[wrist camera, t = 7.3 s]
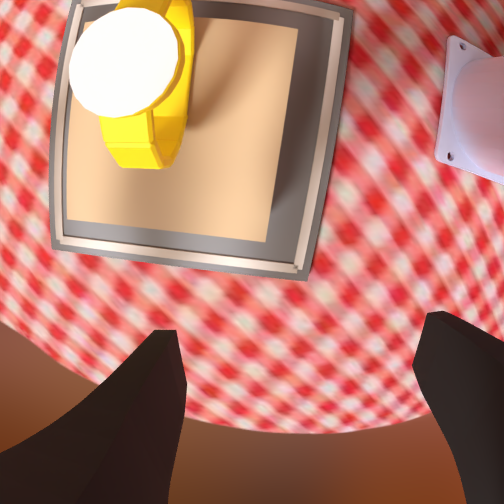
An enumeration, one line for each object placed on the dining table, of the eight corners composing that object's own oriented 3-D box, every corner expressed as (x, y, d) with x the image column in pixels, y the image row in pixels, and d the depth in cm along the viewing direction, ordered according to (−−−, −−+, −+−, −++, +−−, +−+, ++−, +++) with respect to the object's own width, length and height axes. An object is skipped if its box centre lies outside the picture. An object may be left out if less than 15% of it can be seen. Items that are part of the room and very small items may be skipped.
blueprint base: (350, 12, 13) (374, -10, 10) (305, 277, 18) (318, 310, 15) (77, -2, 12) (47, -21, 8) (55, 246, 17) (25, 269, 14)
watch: (202, 156, 13) (170, 198, 7) (136, 153, 12) (66, 193, 7) (217, 13, 10) (196, -50, 5) (149, 14, 10) (85, -36, 4)
